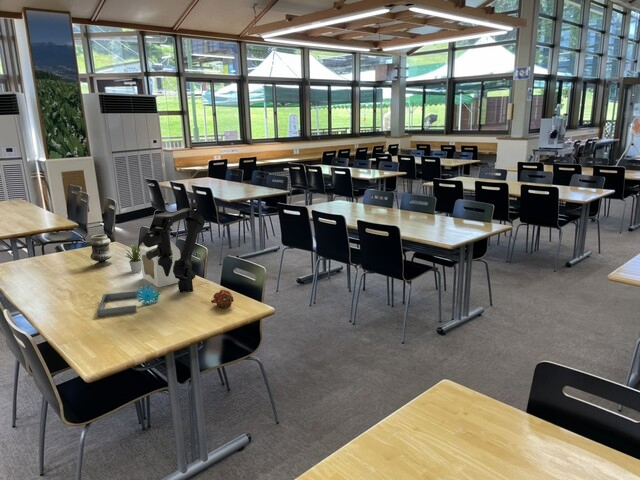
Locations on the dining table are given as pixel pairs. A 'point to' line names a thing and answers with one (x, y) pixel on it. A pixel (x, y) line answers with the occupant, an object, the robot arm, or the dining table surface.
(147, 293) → the gear
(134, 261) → the house plant
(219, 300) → the dragon fruit
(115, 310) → the gear seat
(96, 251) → the apothecary jar
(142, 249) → the gable box
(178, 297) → the dining table surface
